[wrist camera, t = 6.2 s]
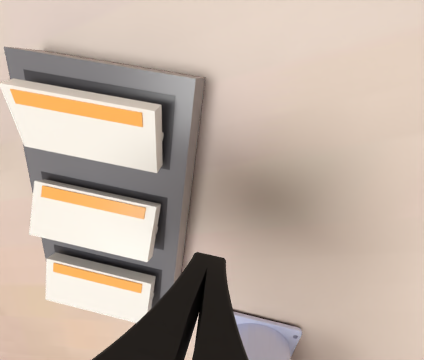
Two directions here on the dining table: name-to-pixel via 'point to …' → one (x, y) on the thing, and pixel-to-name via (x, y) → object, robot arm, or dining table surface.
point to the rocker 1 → (86, 124)
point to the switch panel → (119, 175)
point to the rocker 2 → (98, 287)
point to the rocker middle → (94, 219)
